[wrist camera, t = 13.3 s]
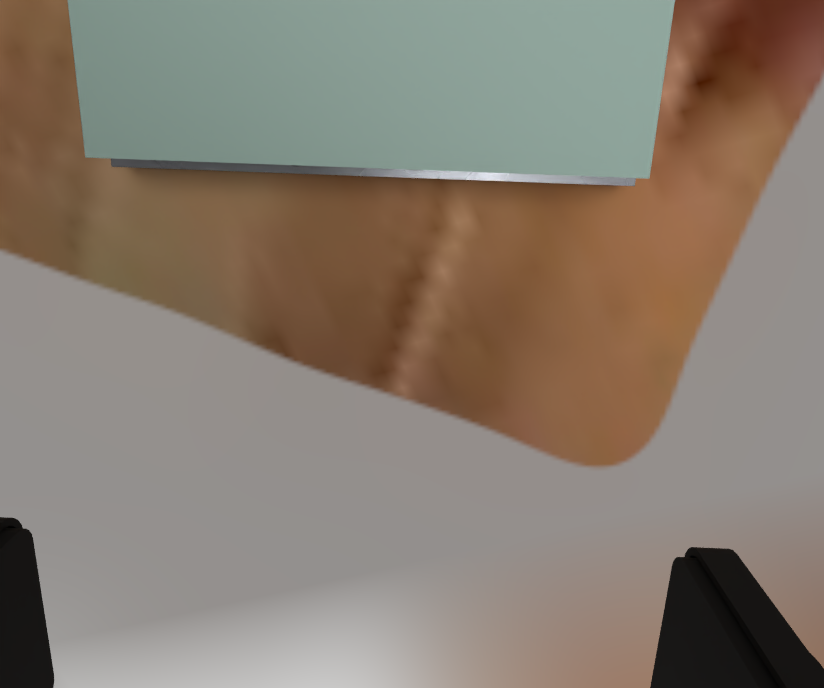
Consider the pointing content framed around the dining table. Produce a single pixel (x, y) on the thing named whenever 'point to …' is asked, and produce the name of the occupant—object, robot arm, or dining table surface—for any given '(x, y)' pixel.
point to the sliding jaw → (375, 83)
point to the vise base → (372, 172)
